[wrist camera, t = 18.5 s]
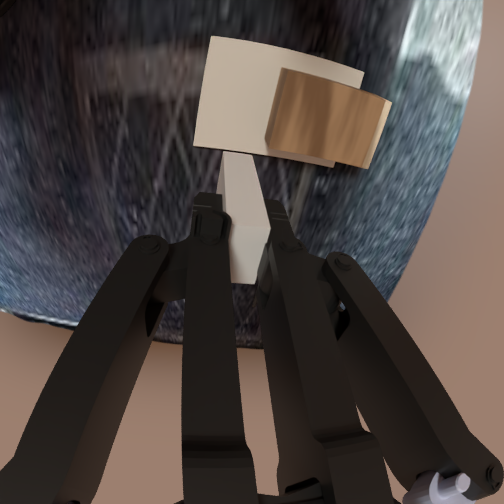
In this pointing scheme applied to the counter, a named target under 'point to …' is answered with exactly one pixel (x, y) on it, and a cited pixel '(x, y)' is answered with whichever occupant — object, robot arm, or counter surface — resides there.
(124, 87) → the counter surface
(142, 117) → the counter surface
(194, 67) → the counter surface
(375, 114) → the beige rectangular box
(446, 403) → the robot arm
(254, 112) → the felt mat
